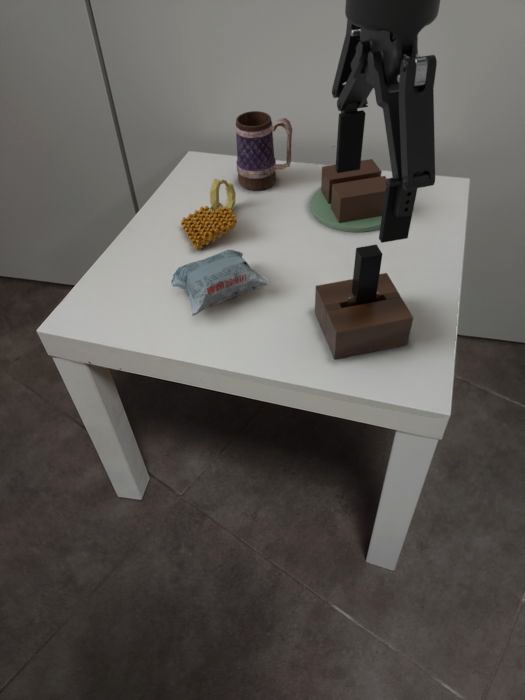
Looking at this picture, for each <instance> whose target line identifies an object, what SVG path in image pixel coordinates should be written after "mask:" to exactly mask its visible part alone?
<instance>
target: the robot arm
mask: <svg viewBox="0 0 525 700" xmlns="http://www.w3.org/2000/svg"><path fill="white" fill-rule="evenodd" d="M440 5H441V0H345V6H344V7H345V8H344V12H345V18H346V27H345V28H346V29H345V36H344V40H343V44H342V47H341V52H340V56H339V60H338V64H337V68H336V72H335V75H334V80H333V83H332V88H331V89H332V90H331V95H332V97H333V99H336V98H337V101H336V107H337V108H336V109H337V110H338V112H340V113H338V120H337V121H338V125H337V138H336V154H335V165H336V168H335V170H336V172H337V173H342V172H348V171H354V170H360V164H361V161H362V152H363V144H364V143H363V142H364V133H365V125H366V114H367V113H366V112H365V110H364V108H368V107H369V105H368V104H369V103H368V97H369V96H370V94H371V93H372V91H373V90H374V95H375V102H376V105H377V106H378V107H380V108H381V109H382V114H383V121H384V128H385V133H386V141H387V147H388V149H387V150H388V154H389V161H390V169H391V176H392V177H389V178H387V181H385V184H386V191H385V198H384V205H383V212H382V219H381V226H380V228H379V234H378V240H379V241H380V243H381V244H385V243H389V242H394V241H400V240H406V239H408V238H409V233H410V228H411V223H412V218H413V213H414V208H415V202H416V198H417V192H418V189H421V188H426V187H432V186H434V185H435V183H436V152H435V151H436V149H435V147H436V143H435V98H434V97H435V96H434V94H435V93H434V88H435V79H436V73H437V64H438V63H437V57H436V55H435V54H429V55H422V56H421V55H419V49H418V48H419V46H418V43H419V37H418V36H419V34H420V32H421V31H422V30H423V29H424V28H426V27H427V26H429V25H431V24H432V23H433V22H434V21H436V19H437V17H438V15H439V11H440ZM362 108H363V109H362ZM358 109H361V110H358Z"/></svg>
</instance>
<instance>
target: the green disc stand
mask: <svg viewBox="0 0 525 700" xmlns="http://www.w3.org/2000/svg"><path fill="white" fill-rule="evenodd" d="M335 168H336V164H331V165H324V166H322V167H321V180H320V181H321V182H320V183H321V184H320V187H319V188H318V189H317V190H316V191H315V192H314V193H313V195H312V196H311V199H310V210H311V213H312V215H313V217H314V218H316V220H317V221H319V222H320V223H321V224H323V225H325V226H327V227H329V228H332V229H333V230H338V231H341V232H349V233H364V232H372V231H376V230H380V226H381V219H382V212H383V205H384V198H385V191H386V184H385V181H387V179H388V178H387V176H386V175H382V170H381V168H380V167H379V166H378V165H377V163H376V162H375V161H374V159H373V158H368V159H363V160H362V159H361V164H360V170H354V171H348V172H342V173H337V172H336V170H335Z"/></svg>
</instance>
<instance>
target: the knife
mask: <svg viewBox="0 0 525 700" xmlns="http://www.w3.org/2000/svg"><path fill="white" fill-rule="evenodd" d="M382 260H383V252H382V251H381V249H380V247H379V245H378V244H370V245H365V246H360V247H356V248H355V256H354V264H353V265H354V266H353V274H352V279H353V283H352V294H353V297H348V306H347V307H351V306H356V305H361V304H367V303H372V302H377V301H378V296H379V293H378V292H377V288H378V281H379V274H381V267H382Z"/></svg>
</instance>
